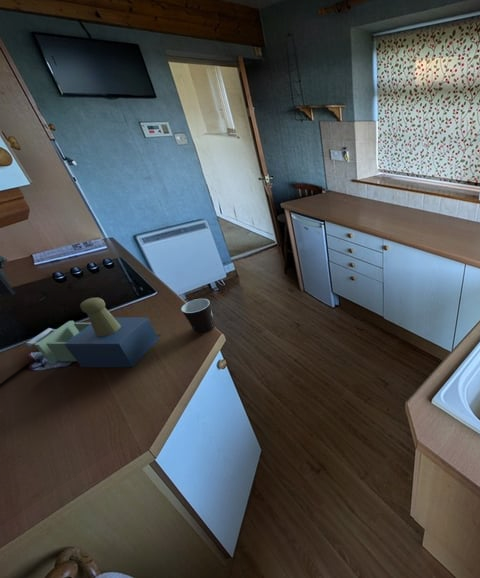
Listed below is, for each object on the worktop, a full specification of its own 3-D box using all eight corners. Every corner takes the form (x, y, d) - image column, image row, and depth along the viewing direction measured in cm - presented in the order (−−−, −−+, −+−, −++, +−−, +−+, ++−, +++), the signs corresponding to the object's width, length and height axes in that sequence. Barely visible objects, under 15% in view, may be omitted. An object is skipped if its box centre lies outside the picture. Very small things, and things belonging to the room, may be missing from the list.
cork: (92, 331, 89) (72, 301, 83) (116, 321, 93) (99, 292, 88) (99, 339, 86) (79, 308, 81) (123, 328, 91) (106, 299, 85)
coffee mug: (213, 334, 103) (204, 311, 98) (187, 336, 102) (176, 313, 97) (223, 315, 113) (215, 293, 108) (199, 316, 112) (190, 295, 106)
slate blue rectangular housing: (81, 367, 89) (63, 343, 84) (113, 339, 100) (99, 317, 95) (133, 367, 90) (118, 343, 85) (159, 339, 101) (147, 317, 95)
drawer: (30, 363, 89) (14, 344, 85) (64, 338, 99) (51, 320, 95) (98, 363, 90) (85, 344, 86) (125, 338, 99) (114, 320, 95)
